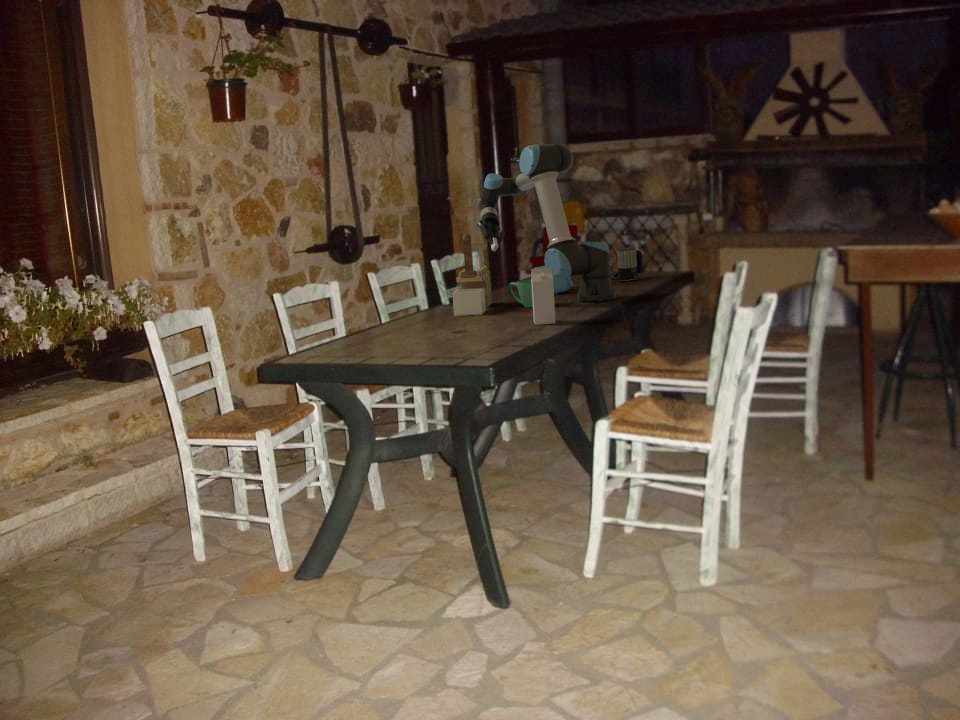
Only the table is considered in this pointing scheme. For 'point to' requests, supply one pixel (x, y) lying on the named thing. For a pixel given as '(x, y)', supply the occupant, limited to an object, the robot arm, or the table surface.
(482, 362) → the table surface
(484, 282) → the launcher
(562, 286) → the decorative pot
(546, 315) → the milk carton
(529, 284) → the mug
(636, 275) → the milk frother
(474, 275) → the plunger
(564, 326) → the table surface
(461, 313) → the beige cardboard cube
